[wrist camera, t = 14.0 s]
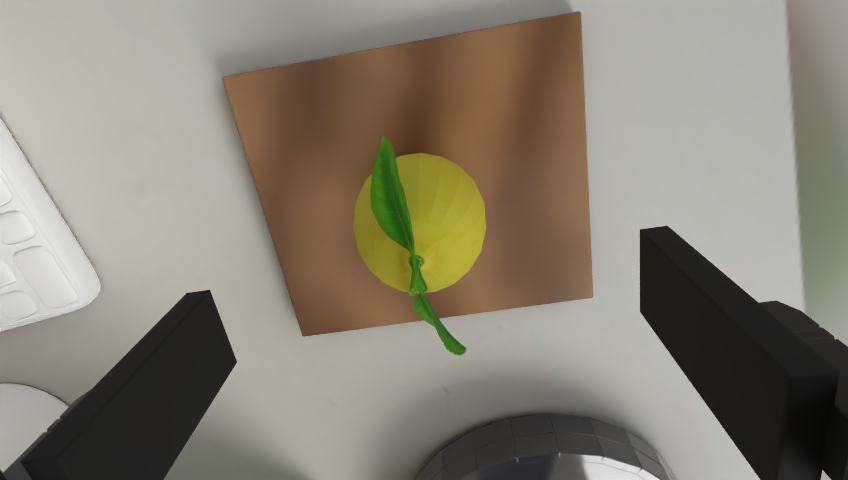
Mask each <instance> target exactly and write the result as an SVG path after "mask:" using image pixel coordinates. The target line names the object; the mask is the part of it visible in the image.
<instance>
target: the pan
mask: <svg viewBox="0 0 848 480" xmlns="http://www.w3.org/2000/svg"><path fill="white" fill-rule="evenodd" d="M417 480H677V479H676V478H675V476H674V474H673V472H672V470H671V469H670V467H669V466H668V465H667V464H666V463H665V461H664V460H663V459H662V458H661V457H660V456H659V454H658V453H657V452H656V451H655V450H654V449H653V448H652V447H651V446H650V445H649V444H647V443H645V442H644V441H642V440H641V439H639V438H637V437H636V436H634V435H633V434H631V433H630V432H628V431H626V430H625V429H623V428H621V427H617V426H614V425H611V424H608V423H605V422H602V421H599V420H595V419H592V418H589V417H581V416H570V415H558V414H543V415H528V416H522V417H516V418H510V419H506V420H503V421H499V422H496V423H492V424H490V425H487V426H484V427H481V428H478V429H475V430H473V431H471V432H469V433H468V434H466V435H464V436H463V437H461V438H459V439H458V440H456V441H454V442H453V443H451V444H450V445H448V446H446V447H445V448H443V449H442V450H441V451H440V452H439V453H438V454H437V455H436V456H435V457H434V458H433V459H432V460H431V461H430V462H429V463H428V464H427V465H426V466H425V467H424V468H423V469H422V470H421V472H420V474H419V476H418V478H417Z"/></svg>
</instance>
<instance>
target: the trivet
mask: <svg viewBox="0 0 848 480" xmlns="http://www.w3.org/2000/svg"><path fill="white" fill-rule="evenodd" d="M222 80H223V83H224V86H225V89H226V93H227V96H228V99H229V102H230V105H231V109H232V112H233V115H234V118H235V121H236V125H237V128H238V131H239V134H240V137H241V141H242V144H243V147H244V150H245V153H246V157H247V160H248V163H249V166H250V169H251V173H252V176H253V179H254V182H255V185H256V189H257V192H258V195H259V198H260V201H261V205H262V208H263V211H264V214H265V217H266V221H267V224H268V227H269V230H270V233H271V237H272V240H273V243H274V246H275V249H276V253H277V256H278V259H279V262H280V265H281V269H282V272H283V275H284V278H285V281H286V285H287V288H288V291H289V294H290V297H291V301H292V304H293V307H294V310H295V313H296V317H297V320H298V323H299V326H300V329H301V333H302V336H311V335H318V334H325V333H333V332H340V331H348V330H355V329H363V328H370V327H377V326H385V325H392V324H400V323H407V322H415V321H422V320H424V319H423V318H422V317H421V316H420V315H418V314H417V313H416V311H415V310H414V308H413V306H412V301H413V299H414V297H415V296H416V295H417V293H415V294H414V295H413V296H410V295H409V292H403V291H400V290H397V289H395V288H393V287H391V286H389V285H387V284H385V283H383V282H382V281H381V280H380V279H379V278H378V277H377V276H376V275H374V274H373V273H372V272H371V271H370V270H369V268H368V267H367V265H366V263H365V262H364V260H363V258H362V257H361V255H360V253H359V251H358V248H357V244H356V239H355V234H354V229H353V223H354V213H355V204H356V201H357V198H358V196H359V194H360V192H361V190H362V187H363V185H364V183H365V181H366V180H367V178H368V177H369V176H370V175H371V174H372V173H373V169H374V165H375V160H376V156H377V153H378V150H379V146H380V143H381V139H382V136H385V137H386V139H388V140H389V141H390V143H391V145H392V147H393V150H394V154H395V158H397V157H399V156H403V155H410V154H417V153H424V154H430V155H436V156H441V157H443V158H445V159H447V160H449V161H451V162H453V163H455V164H457V165H459V166H460V167H461V168H462V169H463V170H464V171H465V172H466V173H467V174H468V175H469V176H470V177H471V178H472V179H473V180H474V182H475V184H476V186H477V188H478V190H479V192H480V194H481V196H482V198H483V201H484V205H485V220H486V231H485V236H484V240H483V245H482V249H481V253H480V254H479V256H478V257H477V259H476V261H475V262H474V264H473V265H472V267H471V268H470V270H469V271H468V272H467V273H466V274H465V275H464V276H463V277H461V278H460V279H459V280H458V281H457V282H456V283H454V284H453V285H450V286H448V287H446V288H443V289H441V290H439V291H436V292H429V293H425V295H426V297H427V299H428V300H429V302H430V304H431V306H432V307H433V309H434V311H435V313H436V315H437V316H438V318H444V317H452V316H459V315H467V314H474V313H482V312H489V311H496V310H504V309H511V308H519V307H526V306H534V305H541V304H549V303H556V302H563V301H571V300H578V299H586V298H592V297H593V284H592V261H591V237H590V214H589V190H588V167H587V143H586V120H585V97H584V73H583V50H582V26H581V13H580V12H573V13H568V14H562V15H557V16H551V17H546V18H540V19H535V20H529V21H524V22H518V23H513V24H508V25H502V26H497V27H491V28H486V29H480V30H475V31H469V32H464V33H458V34H453V35H448V36H442V37H437V38H431V39H426V40H420V41H415V42H409V43H404V44H398V45H393V46H387V47H382V48H377V49H371V50H366V51H360V52H355V53H349V54H344V55H338V56H333V57H327V58H322V59H316V60H311V61H306V62H300V63H295V64H289V65H284V66H278V67H273V68H267V69H262V70H256V71H251V72H246V73H240V74H235V75H229V76H225V77H223V78H222Z"/></svg>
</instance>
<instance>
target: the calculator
mask: <svg viewBox="0 0 848 480" xmlns="http://www.w3.org/2000/svg"><path fill="white" fill-rule="evenodd" d="M100 289H101V284H100V281H99V278H98V276H97V274H96V272H95V270H94V268H93V266H92V265H91V263H90V261H89V259H88V258H87V256H86V255H85V253H84V251H83V250H82V248H81V246H80V245H79V243H78V242H77V240H76V238H75V237H74V235H73V233H72V232H71V230H70V229H69V227H68V225H67V224H66V222H65V221H64V219H63V217H62V216H61V214H60V213H59V211H58V209H57V208H56V206H55V204H54V203H53V201H52V200H51V198H50V196H49V195H48V193H47V192H46V190H45V188H44V187H43V185H42V183H41V182H40V180H39V179H38V177H37V175H36V174H35V172H34V171H33V169H32V167H31V166H30V164H29V163H28V161H27V159H26V158H25V156H24V154H23V153H22V151H21V150H20V148H19V146H18V145H17V143H16V142H15V140H14V138H13V137H12V135H11V133H10V132H9V130H8V129H7V127H6V125H5V124H4V122H3V121H2V119H1V117H0V332H2V331H5V330H9V329H13V328H16V327H20V326H23V325H27V324H30V323H34V322H38V321H41V320H45V319H48V318H52V317H55V316H59V315H63V314H66V313H69V312H72V311H75V310H78V309H80V308H82V307H84V306H86V305H88V304H90V303H91V302H92V301H94V299H95V298H96V297H97V296H98V295H99V293H100Z"/></svg>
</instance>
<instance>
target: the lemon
mask: <svg viewBox="0 0 848 480" xmlns="http://www.w3.org/2000/svg"><path fill="white" fill-rule="evenodd" d="M353 229H354V234H355V239H356V244H357V248H358V251H359V253H360V255H361V257H362V258H363V260H364V262H365V263H366V265H367V267H368V268H369V270H370V271H371V272H372V273H373V274H374V275H376V276H377V277H378V278H379V279H380V280H381V281H382V282H383V283H385V284H387V285H389V286H391V287H393V288H395V289H397V290H400V291H403V292H409V295H410V296H413V295H414V294H415V293H417V295H416V296H415V297H414V299H413V301H412V306H413V308H414V310H415V311H416V313H417V314H418V315H420V316H421V317H422V318H423V319H424V320H425V321H427V322H428V323H430V324H431V325H433V326H434V327H435V328H436V330H437V332H438V335H439V337H440V338H441V340H442V342H443V343H444V345H445V347H446V348H447V350H449V351H450V352H452V353H453V354H455V355H462V354H464V353H465V351H466V348H465V347H464V346H463V345H461V344H460V343H459V342H458V341H457V340H456V339H455V338H454V337H453V336H452V335H451V334H450V333H449V332H448V331H447V329H446V328H445V327H444V326H443V324H442V323H441V321H440V320H439V318H438V316H437V315H436V313H435V311H434V309H433V307H432V306H431V304H430V302H429V300H428V299H427V297H426V295H425V293H429V292H436V291H439V290H441V289H443V288H446V287H448V286H450V285H453V284H454V283H456V282H457V281H458V280H459V279H460V278H461V277H463V276H464V275H465V274H466V273H467V272H468V271H469V270H470V268H471V267H472V265H473V264H474V262H475V261H476V259H477V257H478V256H479V254H480V253H481V249H482V245H483V240H484V236H485V231H486V220H485V205H484V201H483V198H482V196H481V194H480V192H479V190H478V188H477V186H476V184H475V182H474V180H473V179H472V178H471V177H470V176H469V175H468V174H467V173H466V172H465V171H464V170H463V169H462V168H461V167H460V166H459V165H457V164H455V163H453V162H451V161H449V160H447V159H445V158H443V157H441V156H436V155H430V154H424V153H417V154H410V155H403V156H399V157H397V158H395V154H394V150H393V147H392V145H391V143H390V141H389V140H388V139H386V137H385V136H382V139H381V143H380V146H379V150H378V153H377V156H376V160H375V165H374V169H373V173H372V174H371V175H370V176H369V177H368V178H367V180H366V181H365V183H364V185H363V187H362V190H361V192H360V194H359V196H358V198H357V201H356V204H355V213H354V223H353Z"/></svg>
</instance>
